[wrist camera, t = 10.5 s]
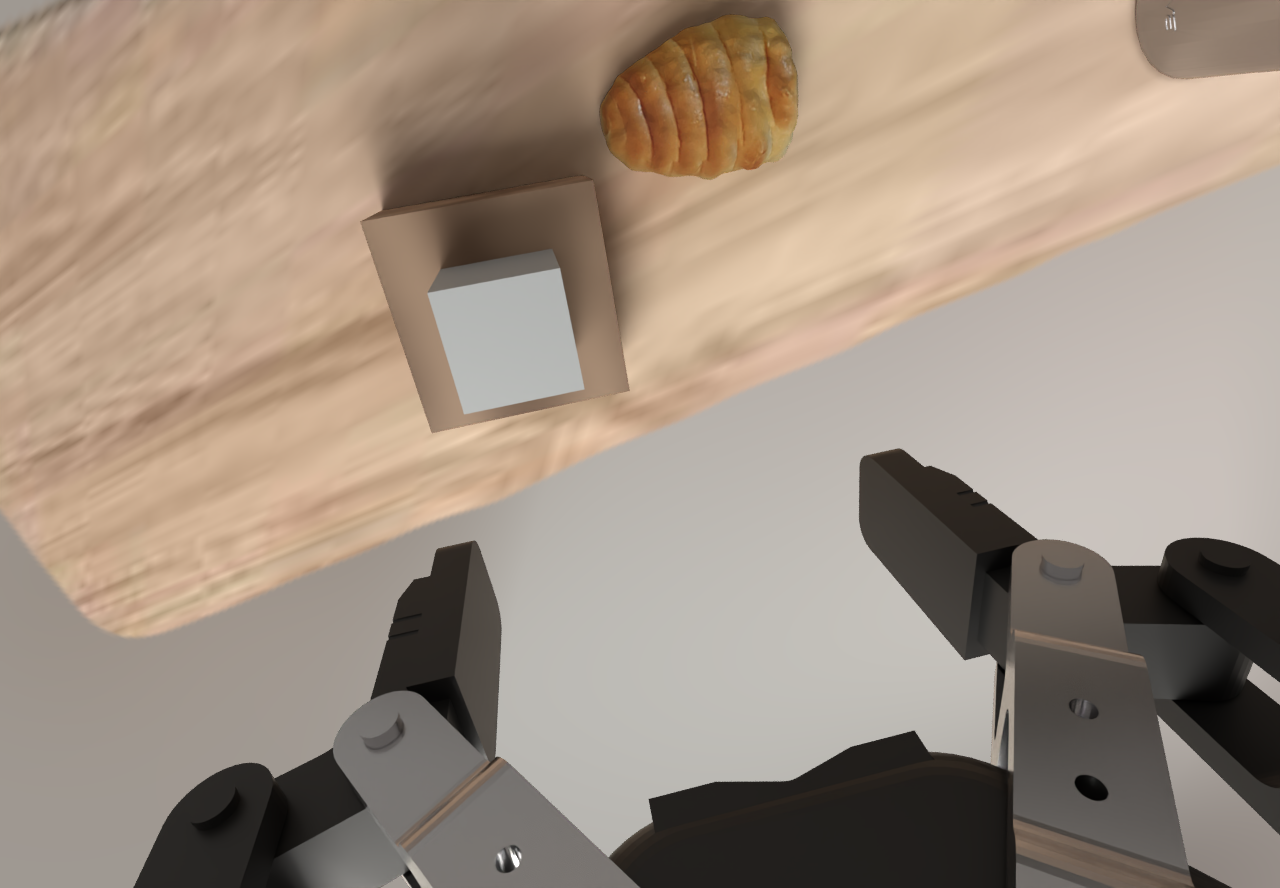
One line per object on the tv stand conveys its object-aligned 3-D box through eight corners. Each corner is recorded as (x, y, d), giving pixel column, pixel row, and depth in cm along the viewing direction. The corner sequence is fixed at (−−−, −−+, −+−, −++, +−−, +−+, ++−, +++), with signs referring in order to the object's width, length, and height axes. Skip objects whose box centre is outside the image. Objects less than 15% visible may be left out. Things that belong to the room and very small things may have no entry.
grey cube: (552, 248, 28) (560, 267, 24) (573, 353, 30) (584, 389, 26) (440, 269, 28) (427, 293, 23) (470, 374, 30) (464, 414, 25)
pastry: (616, 202, 33) (628, 207, 29) (581, 54, 30) (590, 42, 26) (785, 156, 33) (815, 157, 30) (767, 7, 30) (800, -11, 27)
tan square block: (581, 175, 32) (593, 180, 27) (615, 360, 36) (629, 390, 32) (381, 210, 31) (360, 221, 26) (441, 396, 35) (431, 433, 31)
